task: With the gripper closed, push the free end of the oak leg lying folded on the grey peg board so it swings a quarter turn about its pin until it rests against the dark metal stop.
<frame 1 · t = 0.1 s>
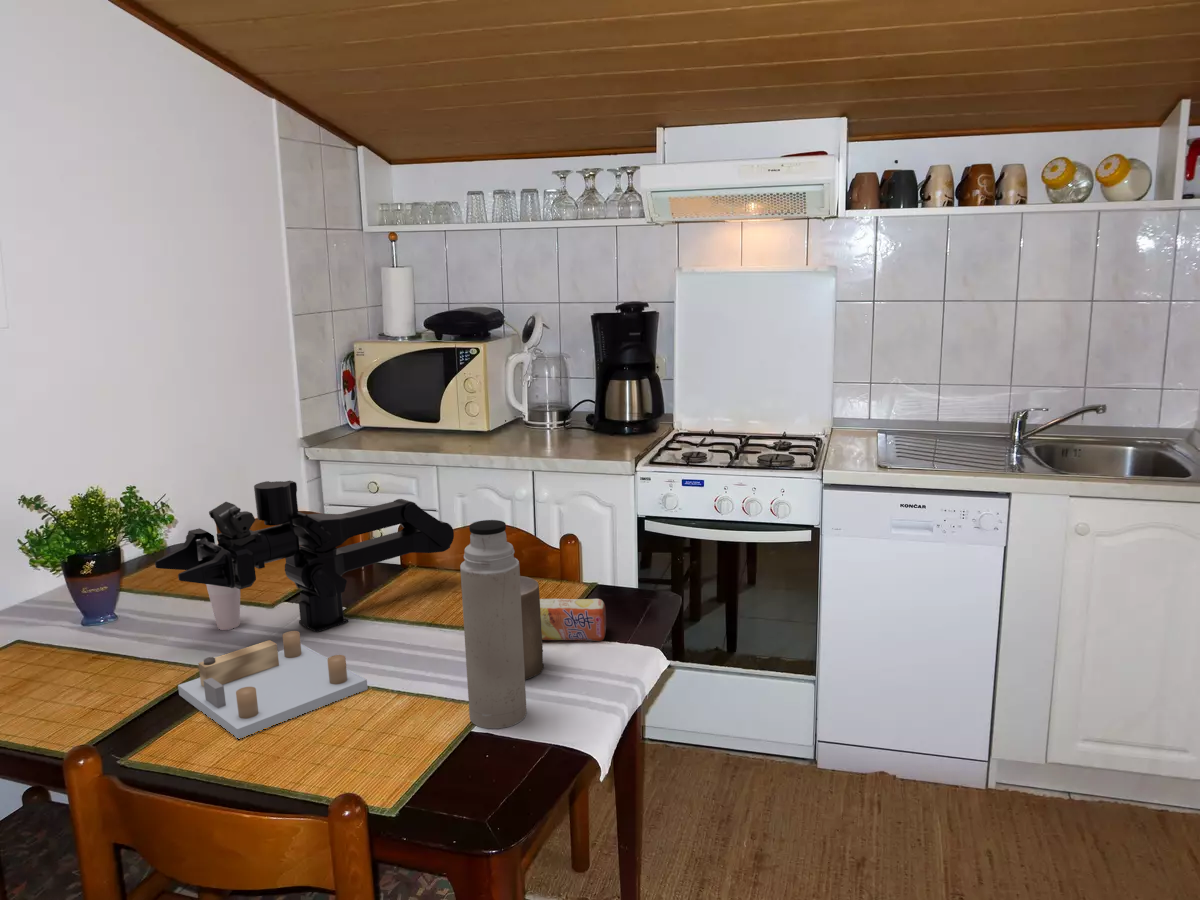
hand: (166, 571, 146), 17 cm above the table, tool horizontal, fingers open, 9 cm apart
snack package: (543, 638, 159), on the table
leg: (239, 662, 143), point 4 cm above the table, hinge at 90.0°
grey peg board: (273, 692, 141), on the table
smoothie: (228, 627, 167), on the table
thermos bottle: (498, 716, 132), on the table
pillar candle: (512, 670, 147), on the table
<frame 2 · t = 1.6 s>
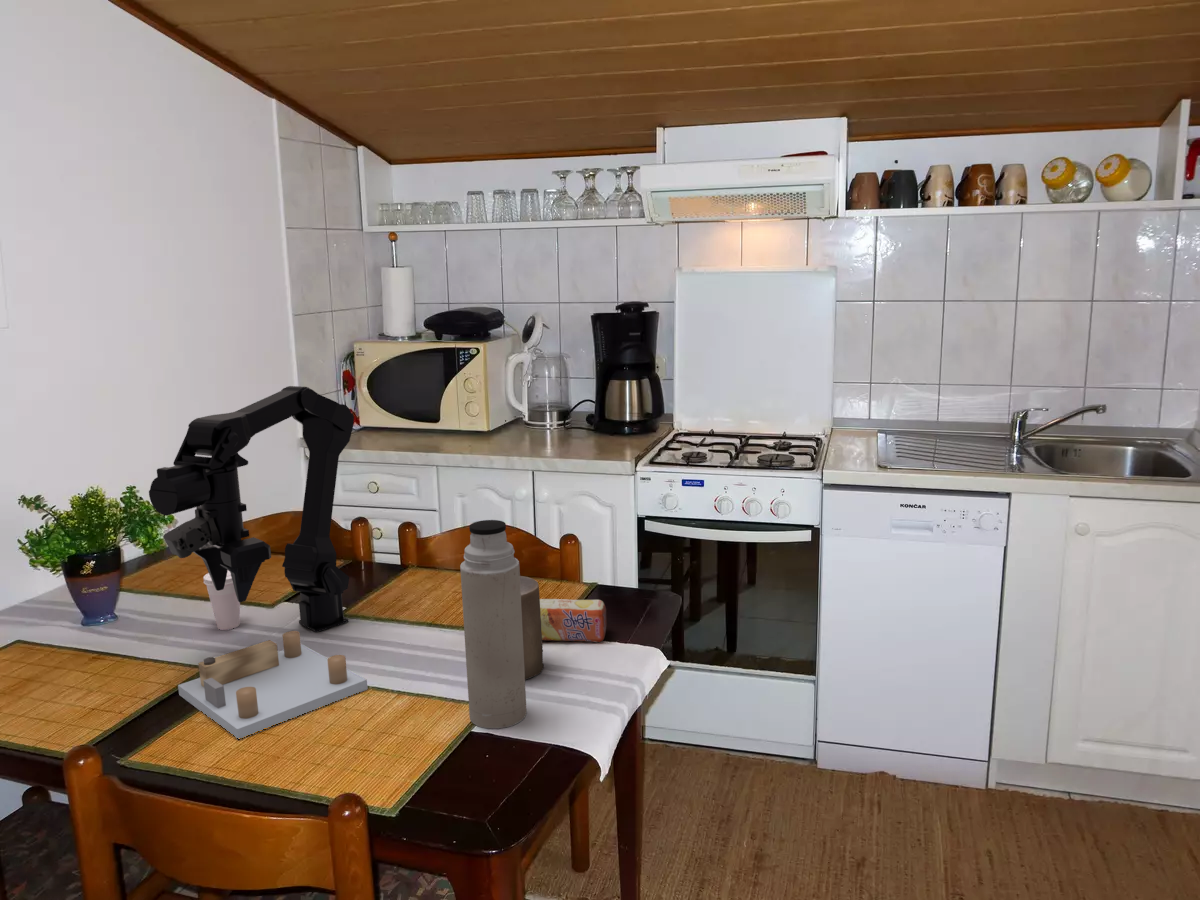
hand: (230, 595, 147), 12 cm above the table, tool pointing down, fingers open, 8 cm apart
nothing on the table moved.
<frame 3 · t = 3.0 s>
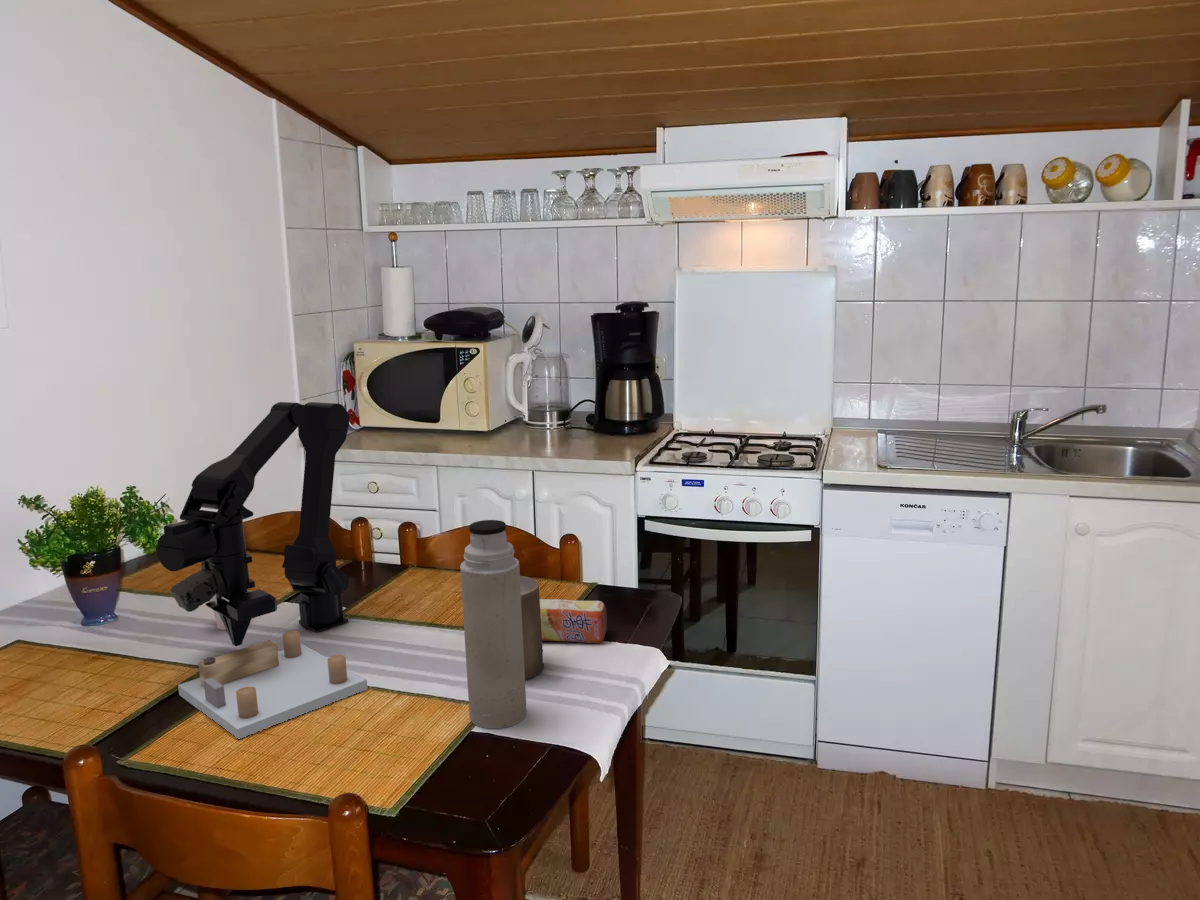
hand: (237, 645, 149), 4 cm above the table, tool pointing down, fingers closed
nothing on the table moved.
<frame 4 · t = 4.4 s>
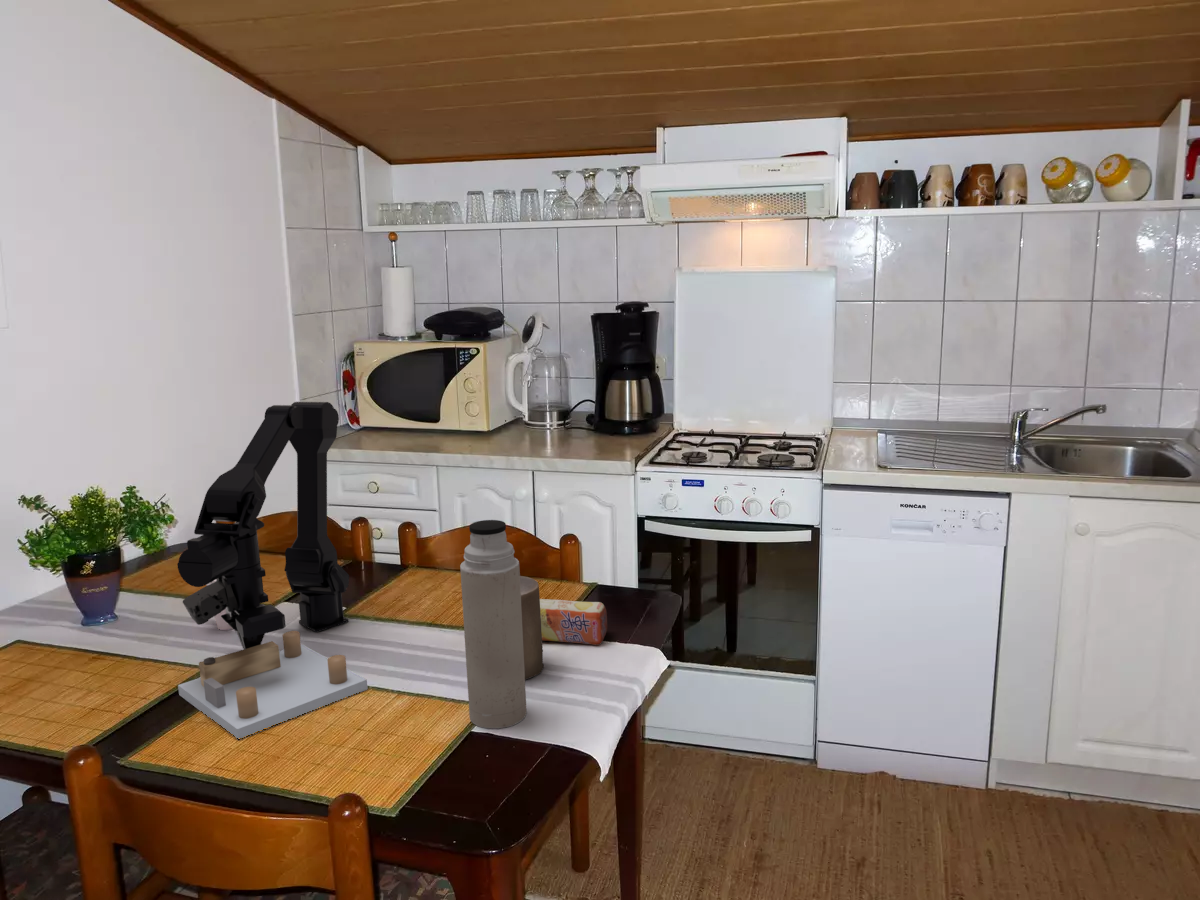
hand: (251, 658, 147), 3 cm above the table, tool pointing down, fingers closed
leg: (240, 663, 143), point 4 cm above the table, hinge at 85.5°, touching gripper
everything else where it was.
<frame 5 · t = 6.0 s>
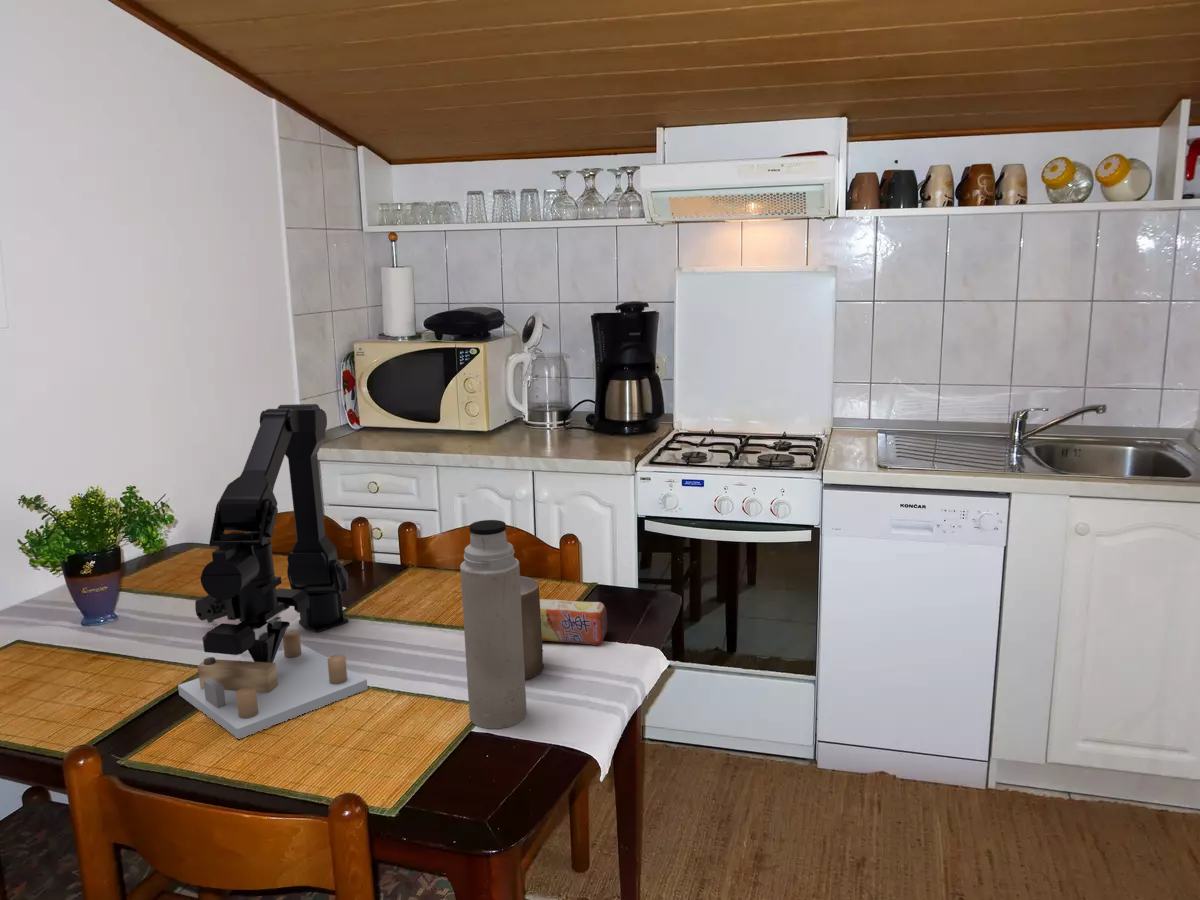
hand: (264, 672, 141), 3 cm above the table, tool pointing down, fingers closed
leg: (237, 673, 139), point 4 cm above the table, hinge at 33.8°, touching gripper
everything else where it was.
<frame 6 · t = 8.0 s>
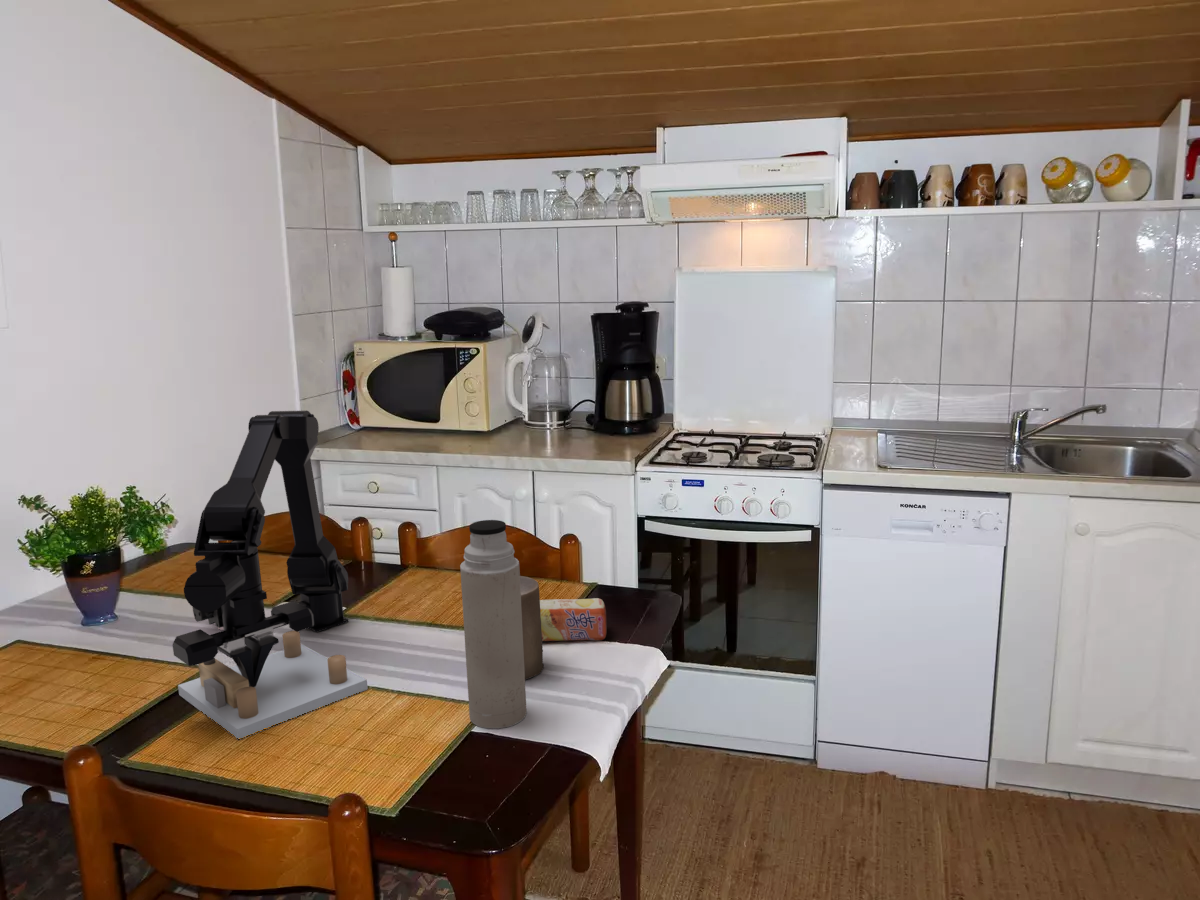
hand: (251, 686, 137), 3 cm above the table, tool pointing down, fingers closed
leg: (223, 680, 137), point 4 cm above the table, hinge at 0.3°, touching gripper
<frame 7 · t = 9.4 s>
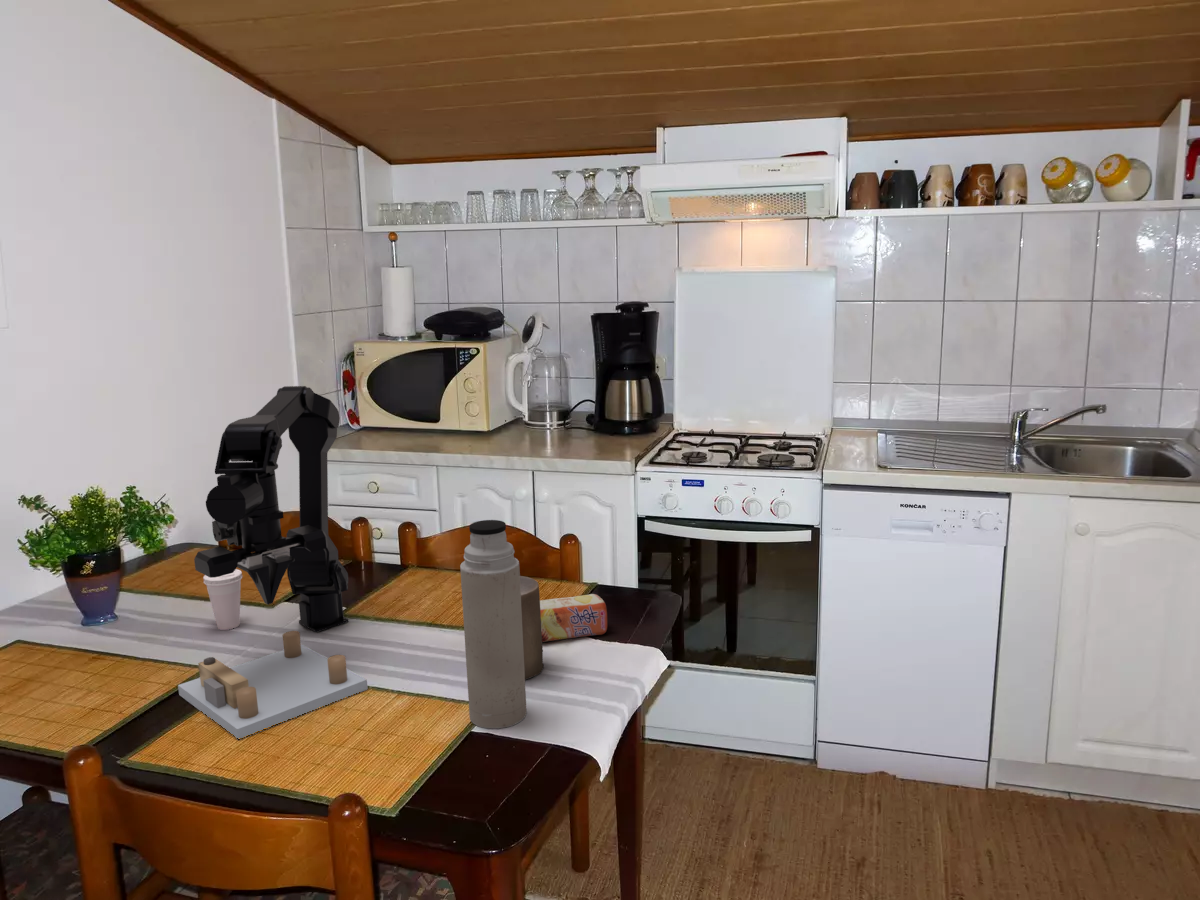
hand: (268, 603, 144), 12 cm above the table, tool pointing down, fingers closed
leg: (223, 680, 137), point 4 cm above the table, hinge at 0.0°
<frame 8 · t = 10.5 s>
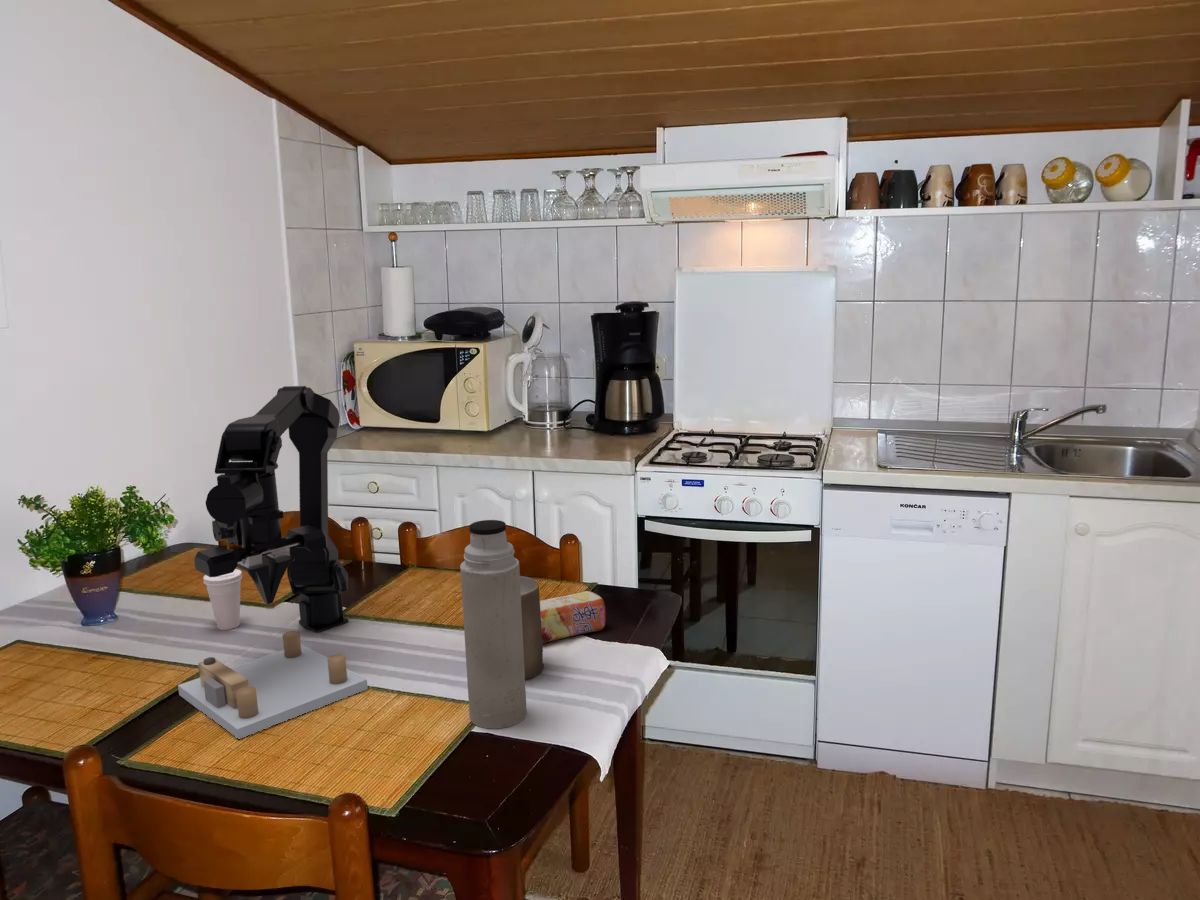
hand: (268, 603, 144), 12 cm above the table, tool pointing down, fingers closed
at the end: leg at +0° (first picture: +90°) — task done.
